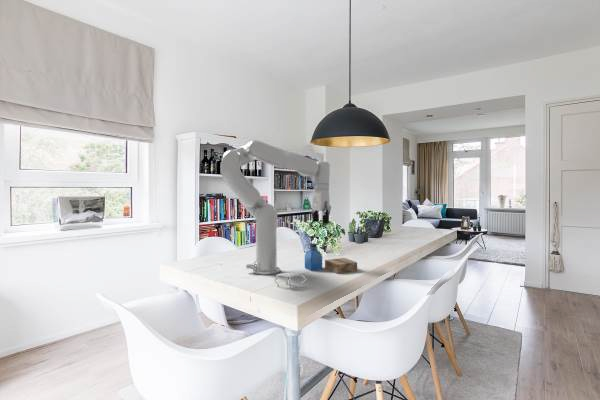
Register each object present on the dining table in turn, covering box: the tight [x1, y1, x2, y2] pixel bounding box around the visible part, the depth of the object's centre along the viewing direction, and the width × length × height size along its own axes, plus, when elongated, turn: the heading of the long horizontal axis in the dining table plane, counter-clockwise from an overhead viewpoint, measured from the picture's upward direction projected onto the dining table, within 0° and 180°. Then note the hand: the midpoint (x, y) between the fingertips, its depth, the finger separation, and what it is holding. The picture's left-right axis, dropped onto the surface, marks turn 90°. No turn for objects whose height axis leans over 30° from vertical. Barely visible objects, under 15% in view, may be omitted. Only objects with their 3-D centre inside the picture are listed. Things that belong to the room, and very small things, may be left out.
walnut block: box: [324, 257, 358, 274], centre depth 157 cm, size 11×11×4 cm
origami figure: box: [274, 272, 308, 290], centre depth 132 cm, size 12×8×5 cm
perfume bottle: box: [304, 242, 323, 272], centre depth 159 cm, size 6×6×12 cm
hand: (320, 222), depth 161 cm, fingers open, 9 cm apart
